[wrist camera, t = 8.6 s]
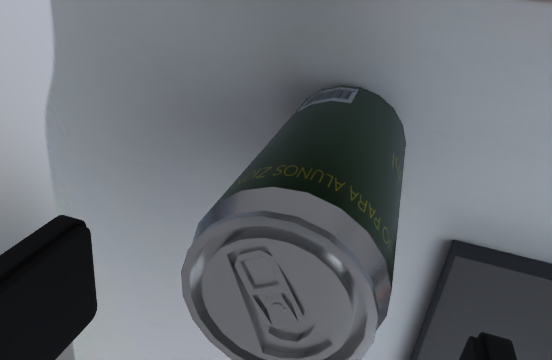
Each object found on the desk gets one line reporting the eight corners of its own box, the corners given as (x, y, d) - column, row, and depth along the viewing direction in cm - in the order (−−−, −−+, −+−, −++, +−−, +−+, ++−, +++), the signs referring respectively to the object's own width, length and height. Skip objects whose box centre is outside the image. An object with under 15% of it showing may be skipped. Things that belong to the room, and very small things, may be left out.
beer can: (275, 104, 21) (135, 235, 11) (383, 63, 19) (336, 178, 9) (316, 200, 23) (229, 394, 13) (421, 172, 21) (420, 379, 10)
